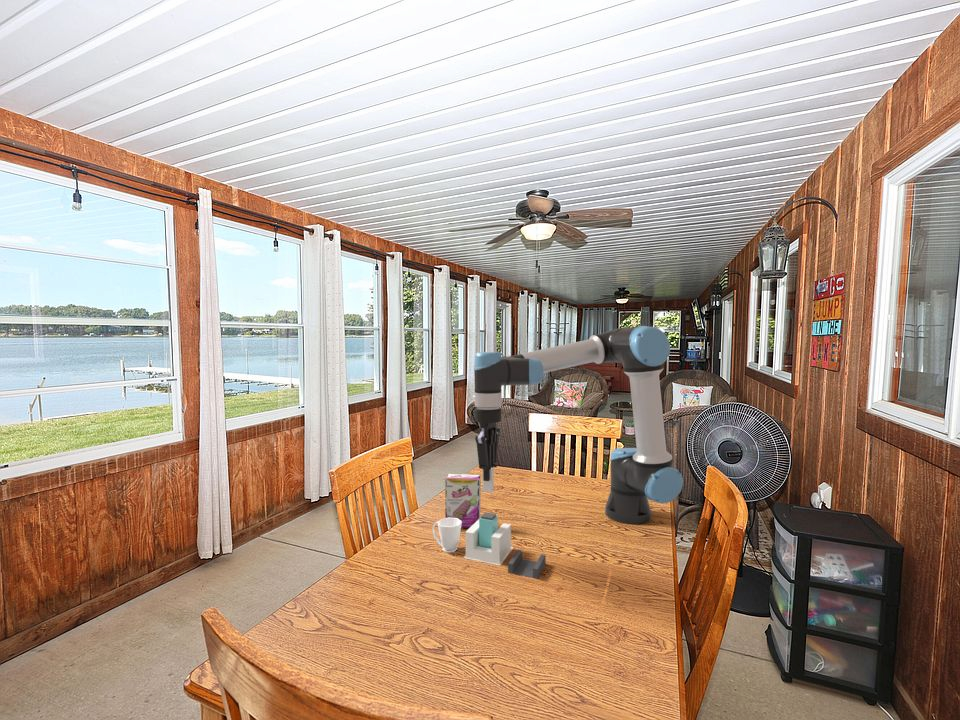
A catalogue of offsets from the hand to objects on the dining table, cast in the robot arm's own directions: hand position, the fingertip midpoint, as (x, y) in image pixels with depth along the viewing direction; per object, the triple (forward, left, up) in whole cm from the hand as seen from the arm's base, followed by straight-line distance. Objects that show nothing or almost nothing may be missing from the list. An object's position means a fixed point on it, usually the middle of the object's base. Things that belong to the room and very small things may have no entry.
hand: (488, 490), depth 123 cm
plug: (0, 0, -18) cm, 18 cm away
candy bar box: (+15, -15, -19) cm, 28 cm away
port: (0, 0, -18) cm, 18 cm away
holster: (-13, +4, -18) cm, 22 cm away
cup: (+13, +1, -19) cm, 23 cm away
